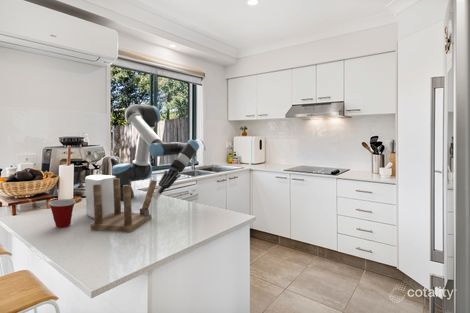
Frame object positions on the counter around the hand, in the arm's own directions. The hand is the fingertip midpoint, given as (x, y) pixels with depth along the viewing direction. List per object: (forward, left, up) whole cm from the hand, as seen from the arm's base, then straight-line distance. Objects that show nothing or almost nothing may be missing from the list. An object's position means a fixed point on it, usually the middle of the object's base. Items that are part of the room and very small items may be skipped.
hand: (154, 197), depth 140 cm
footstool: (+15, -7, -11) cm, 19 cm away
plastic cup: (+31, -29, -11) cm, 43 cm away
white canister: (+12, -31, -11) cm, 35 cm away
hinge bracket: (+5, -2, -8) cm, 10 cm away
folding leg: (+5, -2, -6) cm, 8 cm away
